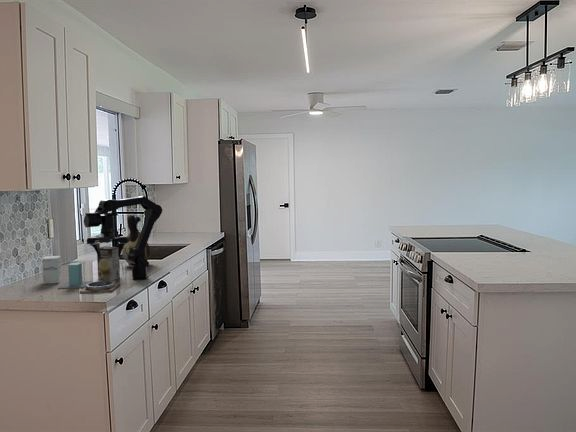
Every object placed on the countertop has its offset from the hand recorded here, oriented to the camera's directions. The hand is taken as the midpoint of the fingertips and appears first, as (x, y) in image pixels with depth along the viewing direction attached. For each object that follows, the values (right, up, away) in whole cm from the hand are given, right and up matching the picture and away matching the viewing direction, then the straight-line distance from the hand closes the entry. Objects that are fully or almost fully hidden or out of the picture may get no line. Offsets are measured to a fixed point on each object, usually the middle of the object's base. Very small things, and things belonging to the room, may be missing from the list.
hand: (109, 257), depth 222 cm
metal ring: (-1, -14, -9) cm, 16 cm away
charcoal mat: (-16, -13, -2) cm, 20 cm away
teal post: (-15, -13, -2) cm, 20 cm away
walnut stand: (-1, -14, -9) cm, 16 cm away
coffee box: (-5, -12, +13) cm, 18 cm away
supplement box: (-30, -13, +6) cm, 34 cm away
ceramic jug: (-2, -9, +44) cm, 45 cm away
